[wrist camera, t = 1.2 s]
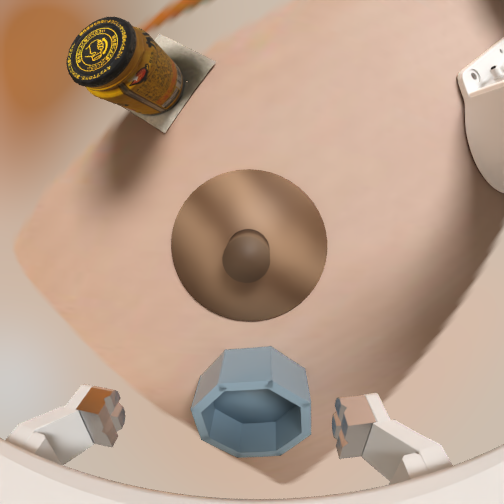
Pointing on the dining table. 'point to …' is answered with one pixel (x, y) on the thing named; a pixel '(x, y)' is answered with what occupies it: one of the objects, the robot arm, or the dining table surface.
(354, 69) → the dining table surface
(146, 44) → the condiment
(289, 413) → the bowl
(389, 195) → the dining table surface
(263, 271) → the lid
